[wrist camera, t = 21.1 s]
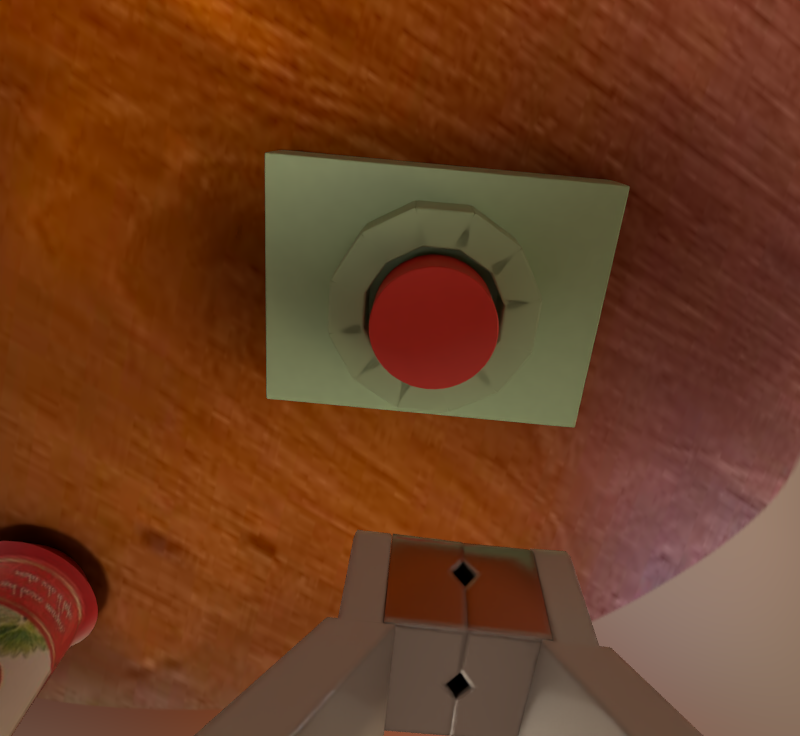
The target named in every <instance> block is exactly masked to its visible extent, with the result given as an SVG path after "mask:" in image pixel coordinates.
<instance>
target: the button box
mask: <svg viewBox="0 0 800 736" xmlns="http://www.w3.org/2000/svg"><path fill="white" fill-rule="evenodd" d="M629 189H630V187H629V186H628V185H625V184H622V183H618V182H615V181H612V180H606V179H595V178H584V177H573V176H562V175H551V174H540V173H529V172H519V171H508V170H497V169H486V168H475V167H464V166H453V165H442V164H431V163H421V162H410V161H399V160H388V159H377V158H366V157H355V156H344V155H334V154H323V153H312V152H301V151H290V150H277V151H271V152H266V153H265V266H266V397H267V398H268V399H278V400H289V401H299V402H310V403H321V404H331V405H342V406H352V407H363V408H373V409H384V410H394V411H405V412H415V413H426V414H437V415H447V416H458V417H468V418H479V419H489V420H500V421H510V422H521V423H531V424H542V425H553V426H563V427H575V424H576V419H577V415H578V411H579V406H580V402H581V398H582V393H583V389H584V384H585V380H586V376H587V371H588V367H589V363H590V358H591V354H592V350H593V345H594V341H595V337H596V332H597V328H598V324H599V319H600V315H601V311H602V306H603V302H604V298H605V293H606V289H607V284H608V280H609V276H610V271H611V267H612V263H613V258H614V254H615V250H616V245H617V241H618V237H619V232H620V228H621V224H622V219H623V215H624V211H625V206H626V202H627V198H628V193H629ZM430 254H436V255H445V256H450V257H453V258H456V259H458V260H461V261H463V262H464V263H466V264H468V265H469V266H471V267H472V268H473V269H474V270H475V271H476V272H477V273H478V274H479V275H480V276H481V277H482V279H483V280H484V282H485V283H486V285H487V287H488V289H489V291H490V294H491V296H492V299H493V302H494V305H495V307H496V310H497V314H498V319H499V334H498V340H497V344H496V347H495V349H494V352H493V354H492V356H491V358H490V359H489V361H488V362H487V363H486V365H485V366H484V367H483V368H482V369H481V370H480V371H479V372H478V373H477V374H476V375H474V376H473V377H472V378H470V379H468V380H467V381H465V382H463V383H461V384H459V385H456V386H453V387H449V388H444V389H423V388H418V387H414V386H411V385H408V384H406V383H403V382H402V381H400V380H398V379H396V378H395V377H394V376H392V375H391V374H390V373H389V372H388V371H387V370H386V369H385V368H384V367H383V366H382V365H381V363H380V362H379V361H378V359H377V357H376V356H375V354H374V351H373V349H372V346H371V343H370V338H369V318H370V313H371V310H372V306H373V303H374V300H375V296H376V293H377V291H378V289H379V286H380V285H381V283H382V281H383V280H384V279H385V277H386V276H387V275H388V274H389V273H390V272H391V271H392V270H393V269H394V268H395V267H397V266H398V265H400V264H401V263H403V262H405V261H407V260H409V259H412V258H414V257H418V256H422V255H430Z"/></svg>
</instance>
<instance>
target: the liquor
mask: <svg viewBox="0 0 800 736" xmlns="http://www.w3.org/2000/svg"><path fill="white" fill-rule="evenodd" d="M97 615H98V606H97V601H96V597H95V595H94V593H93V590H92V588H91V586H90V584H89V582H88V580H87V578H86V576H85V574H84V572H83V570H82V569H81V567H80V566H79V565H78V564H77V563H76V562H75V561H74V560H73V559H72V558H70V557H69V556H68V555H66V554H65V553H63V552H61V551H59V550H57V549H54V548H52V547H49V546H45V545H40V544H32V543H25V542H15V541H0V736H12V735H13V733H14V732H15V730H16V728H17V727H18V725H19V724H20V722H21V720H22V719H23V717H24V716H25V714H26V713H27V711H28V710H29V708H30V706H31V705H32V703H33V702H34V700H35V699H36V697H37V696H38V694H39V693H40V691H41V690H42V688H43V687H44V685H45V684H46V682H47V680H48V679H49V677H50V676H51V674H52V673H53V671H54V670H55V668H56V667H57V665H58V664H59V662H60V661H61V659H62V657H63V656H64V654H65V653H66V651H67V650H68V648H69V647H70V646H72V645H74V644H76V643H78V642H80V641H82V640H83V639H84V638H85V637H87V636H88V635H89V634H90V632H91V631H92V629H93V628H94V626H95V623H96V621H97Z"/></svg>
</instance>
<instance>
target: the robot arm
mask: <svg viewBox="0 0 800 736" xmlns="http://www.w3.org/2000/svg"><path fill="white" fill-rule="evenodd" d="M391 537H392V544H391ZM390 549H391V553H390ZM389 560H390V563H389ZM388 571H389V573H388ZM384 730H386V731H398V732H411V733H423V734H436V735H450V736H703V735H702V734H701V733H700V732H699V731H698V730H697V729H696V728H695V727H693V726H692V725H691V723H689V722H688V721H687V720H686V719H685V718H684V717H683V716H682V715H681V714H680V713H679V712H678V711H677V710H676V709H675V708H674V707H673V706H672V705H671V704H670V703H668V702H667V701H666V700H665V699H664V698H663V697H662V696H661V695H660V694H659V693H658V692H657V691H656V690H655V689H654V688H653V687H652V686H651V685H650V684H648V683H647V682H646V681H645V680H644V679H643V678H642V677H641V676H640V675H639V674H638V673H637V672H636V671H635V670H634V669H633V668H632V667H631V666H630V665H628V664H627V663H626V662H625V661H624V660H623V659H622V658H621V657H620V656H619V655H618V654H617V653H616V652H615V651H614V650H613V649H612V648H610V647H601V646H599V644H598V641H597V638H596V635H595V632H594V629H593V625H592V622H591V619H590V616H589V613H588V610H587V607H586V604H585V600H584V597H583V594H582V591H581V588H580V585H579V582H578V579H577V576H576V572H575V569H574V566H573V563H572V560H571V557H570V555H569V554H568V553H567V552H566V551H555V550H542V549H530V550H528V549H520V548H510V547H500V546H490V545H480V544H470V543H461V542H454V541H446V540H438V539H431V538H423V537H415V536H407V535H399V534H393V536H392V535H391V534H388V533H379V532H371V531H363V530H357V532H356V534H355V536H354V540H353V545H352V550H351V555H350V560H349V565H348V570H347V575H346V580H345V586H344V591H343V596H342V601H341V606H340V611H339V616H338V618H330V617H327V618H326V619H324V620H323V621H322V622H321V623H320V624H319V625H318V626H317V627H315V628H314V629H313V630H312V631H311V632H310V633H309V634H308V635H306V636H305V637H304V638H303V639H302V640H301V641H300V642H299V643H297V644H296V645H295V646H294V647H293V648H292V649H291V650H290V651H288V652H287V653H286V654H285V655H284V656H283V657H282V658H281V659H279V660H278V661H277V662H276V663H275V664H274V665H273V666H272V667H271V668H269V669H268V670H267V671H266V672H265V673H264V674H263V675H262V676H260V677H259V678H258V679H257V680H256V681H255V682H254V683H253V684H251V685H250V686H249V687H248V688H247V689H246V690H245V691H244V692H242V693H241V694H240V695H239V696H238V697H237V698H236V699H235V700H233V701H232V702H231V703H230V704H229V705H228V706H227V707H226V708H224V709H223V710H222V711H221V712H220V713H219V714H218V715H217V716H215V717H214V718H213V719H212V720H211V721H210V722H209V723H208V724H207V725H205V726H204V727H203V728H202V729H201V730H200V731H199V732H198V733H197V734H195V735H194V736H383V735H384Z"/></svg>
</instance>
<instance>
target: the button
mask: <svg viewBox="0 0 800 736" xmlns="http://www.w3.org/2000/svg"><path fill="white" fill-rule="evenodd" d="M498 334H499V319H498V314H497V310H496V307H495V305H494V302H493V299H492V296H491V294H490V291H489V289H488V287H487V285H486V283H485V282H484V280H483V279H482V277H481V276H480V275H479V274H478V273H477V272H476V271H475V270H474V269H473V268H472V267H471V266H469V265H468V264H466V263H464V262H463V261H461V260H458V259H456V258H453V257H450V256H445V255H436V254H430V255H422V256H418V257H414V258H412V259H409V260H407V261H405V262H403V263H401V264H400V265H398V266H397V267H395V268H394V269H393V270H392V271H391V272H390V273H389V274H388V275H387V276H386V277H385V279H384V280H383V281H382V283H381V285H380V286H379V289H378V291H377V293H376V296H375V300H374V303H373V306H372V310H371V313H370V318H369V338H370V343H371V346H372V349H373V351H374V354H375V356H376V357H377V359H378V361H379V362H380V363H381V365H382V366H383V367H384V368H385V369H386V370H387V371H388V372H389V373H390V374H391V375H392V376H394V377H395V378H396V379H398V380H400V381H402V382H403V383H406V384H408V385H411V386H414V387H418V388H423V389H444V388H449V387H453V386H456V385H459V384H461V383H463V382H465V381H467V380H468V379H470V378H472V377H473V376H474V375H476V374H477V373H478V372H479V371H480V370H481V369H482V368H483V367H484V366H485V365H486V363H487V362H488V361H489V359H490V358H491V356H492V354H493V352H494V349H495V347H496V344H497V340H498Z"/></svg>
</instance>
